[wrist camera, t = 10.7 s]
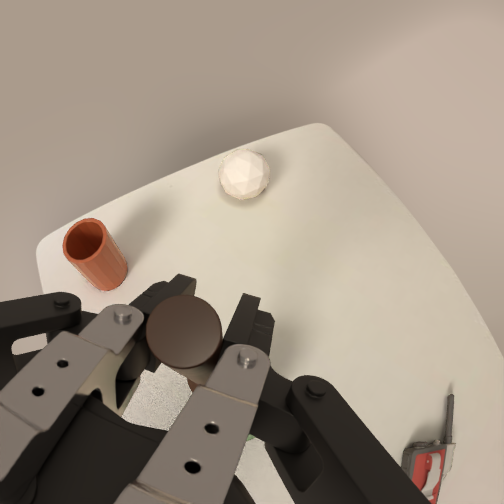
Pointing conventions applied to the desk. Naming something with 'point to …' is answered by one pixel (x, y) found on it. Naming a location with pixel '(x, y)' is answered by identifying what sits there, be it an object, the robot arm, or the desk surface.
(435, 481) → the walkie-talkie
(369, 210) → the desk surface
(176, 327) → the muddler
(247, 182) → the geometric ball
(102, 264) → the terracotta cup
